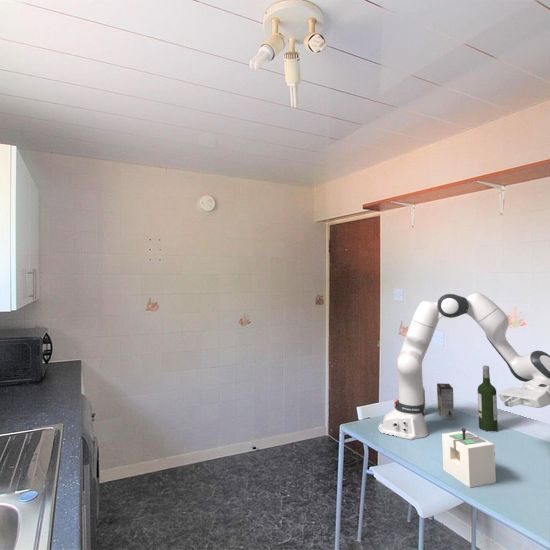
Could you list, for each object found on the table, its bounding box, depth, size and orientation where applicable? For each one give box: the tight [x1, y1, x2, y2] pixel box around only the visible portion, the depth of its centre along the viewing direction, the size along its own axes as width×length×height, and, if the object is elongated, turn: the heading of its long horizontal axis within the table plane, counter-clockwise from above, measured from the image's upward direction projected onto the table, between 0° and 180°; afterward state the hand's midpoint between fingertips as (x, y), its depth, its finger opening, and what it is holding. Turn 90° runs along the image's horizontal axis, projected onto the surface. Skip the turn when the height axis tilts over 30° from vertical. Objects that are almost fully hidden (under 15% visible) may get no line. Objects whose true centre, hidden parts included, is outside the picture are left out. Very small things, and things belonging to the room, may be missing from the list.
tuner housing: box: [441, 429, 497, 489], centre depth 134 cm, size 11×13×14 cm
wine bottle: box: [477, 365, 499, 432], centre depth 176 cm, size 8×8×30 cm
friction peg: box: [456, 427, 496, 460], centre depth 135 cm, size 12×6×12 cm, turn 105°
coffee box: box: [436, 382, 455, 420], centre depth 194 cm, size 9×6×16 cm
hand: (506, 404), depth 143 cm, fingers closed
